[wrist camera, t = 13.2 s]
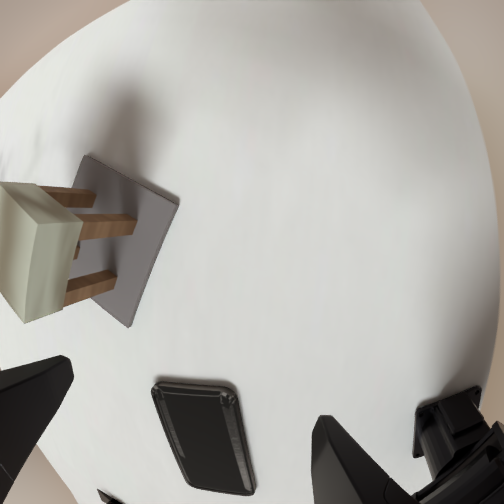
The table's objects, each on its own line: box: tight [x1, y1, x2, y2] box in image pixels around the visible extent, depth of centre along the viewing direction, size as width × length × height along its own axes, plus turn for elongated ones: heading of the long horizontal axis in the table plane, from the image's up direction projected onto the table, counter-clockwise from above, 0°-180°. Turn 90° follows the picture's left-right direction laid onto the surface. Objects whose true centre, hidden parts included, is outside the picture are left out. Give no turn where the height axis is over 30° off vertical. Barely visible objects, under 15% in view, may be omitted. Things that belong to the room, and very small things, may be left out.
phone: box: [151, 382, 256, 496], centre depth 22 cm, size 8×1×15 cm
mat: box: [66, 155, 179, 328], centre depth 21 cm, size 11×11×1 cm
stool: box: [0, 182, 138, 324], centre depth 17 cm, size 6×6×10 cm
